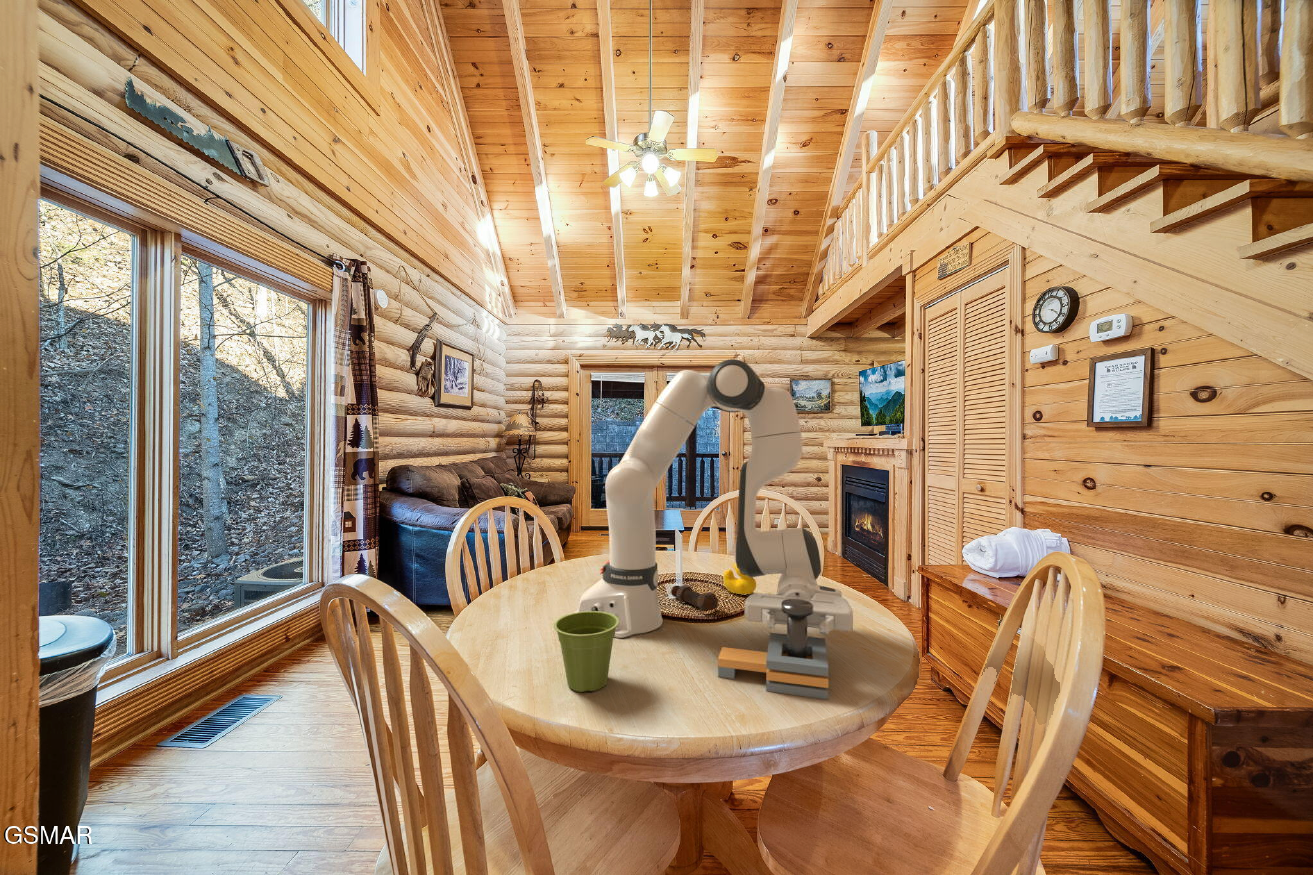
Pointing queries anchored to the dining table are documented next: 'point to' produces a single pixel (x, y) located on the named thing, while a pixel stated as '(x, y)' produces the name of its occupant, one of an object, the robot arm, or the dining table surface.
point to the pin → (797, 626)
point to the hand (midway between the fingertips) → (797, 627)
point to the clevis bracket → (782, 666)
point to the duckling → (739, 582)
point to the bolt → (695, 597)
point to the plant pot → (586, 647)
